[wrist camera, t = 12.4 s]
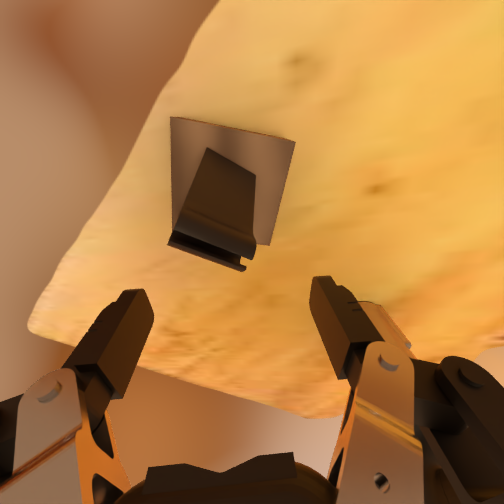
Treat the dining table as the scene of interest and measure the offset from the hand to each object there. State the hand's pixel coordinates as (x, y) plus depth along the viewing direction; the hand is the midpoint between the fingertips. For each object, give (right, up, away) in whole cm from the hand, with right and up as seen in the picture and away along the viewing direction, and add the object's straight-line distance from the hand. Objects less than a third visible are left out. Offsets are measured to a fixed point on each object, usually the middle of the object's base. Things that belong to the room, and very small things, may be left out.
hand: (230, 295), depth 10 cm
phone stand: (-3, +9, +15) cm, 18 cm away
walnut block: (-2, +12, +20) cm, 24 cm away
